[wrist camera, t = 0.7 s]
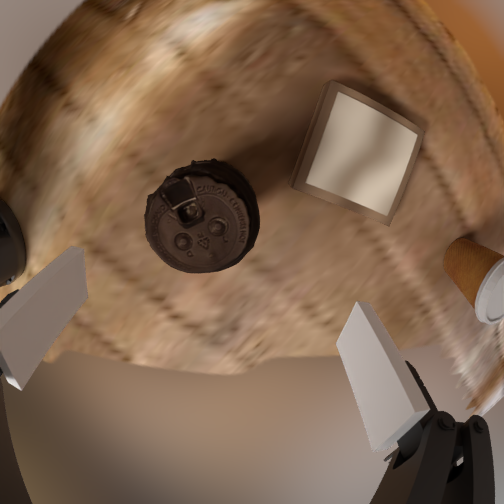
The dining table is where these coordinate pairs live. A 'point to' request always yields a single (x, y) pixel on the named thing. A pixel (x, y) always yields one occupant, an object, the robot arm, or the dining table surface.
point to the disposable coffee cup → (478, 277)
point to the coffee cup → (202, 217)
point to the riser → (357, 153)
